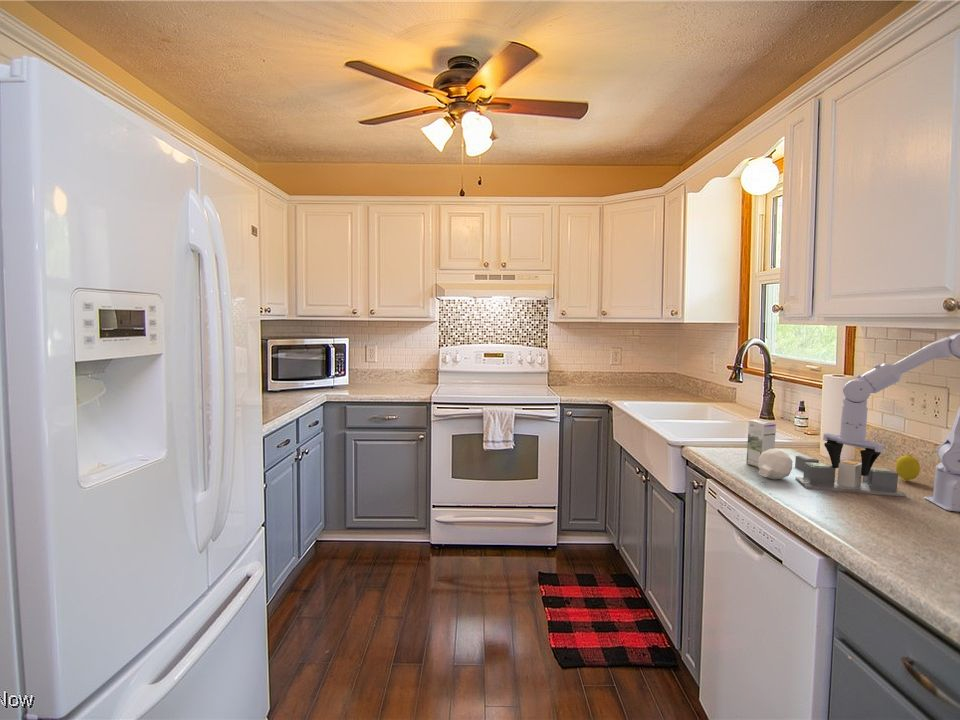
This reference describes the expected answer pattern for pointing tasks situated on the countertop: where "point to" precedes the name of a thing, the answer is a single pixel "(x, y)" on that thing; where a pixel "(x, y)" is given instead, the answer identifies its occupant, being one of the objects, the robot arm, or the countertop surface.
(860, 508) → the countertop surface
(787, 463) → the beige faceted rounded lump
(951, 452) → the robot arm
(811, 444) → the countertop surface
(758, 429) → the syrup box
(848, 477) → the block
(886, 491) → the rail
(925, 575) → the countertop surface
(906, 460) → the lemon
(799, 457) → the relay block
